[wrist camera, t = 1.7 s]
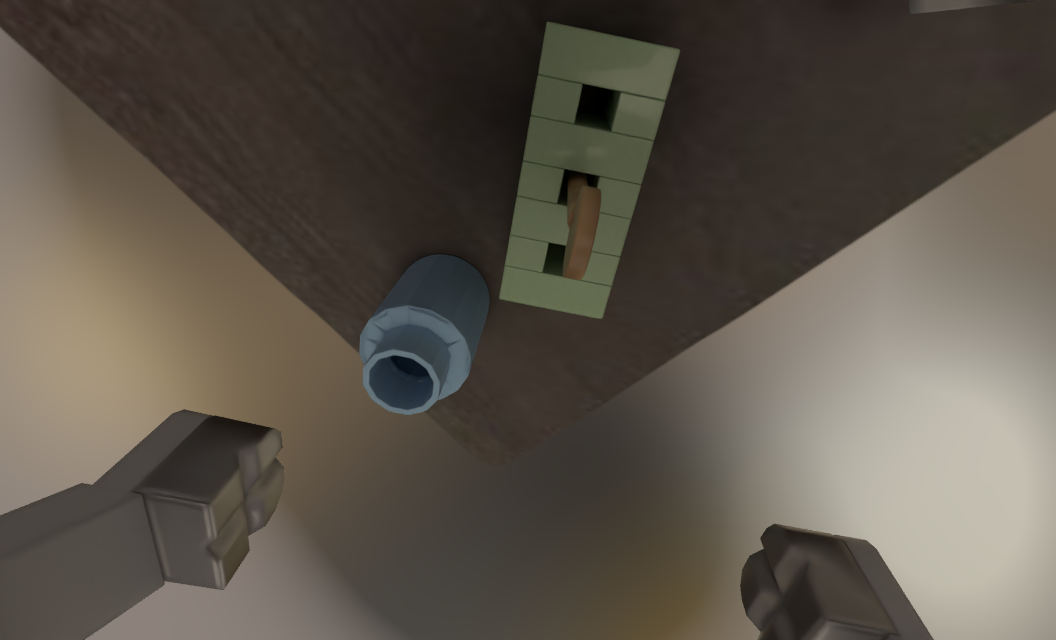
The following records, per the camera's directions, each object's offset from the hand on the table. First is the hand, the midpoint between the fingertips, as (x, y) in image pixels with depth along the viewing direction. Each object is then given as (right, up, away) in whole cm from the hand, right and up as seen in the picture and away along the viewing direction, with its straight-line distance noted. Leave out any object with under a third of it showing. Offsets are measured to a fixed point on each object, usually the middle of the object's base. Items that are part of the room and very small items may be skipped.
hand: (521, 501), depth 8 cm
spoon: (+3, +14, +26) cm, 30 cm away
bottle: (-7, +5, +32) cm, 33 cm away
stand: (+3, +14, +26) cm, 30 cm away
